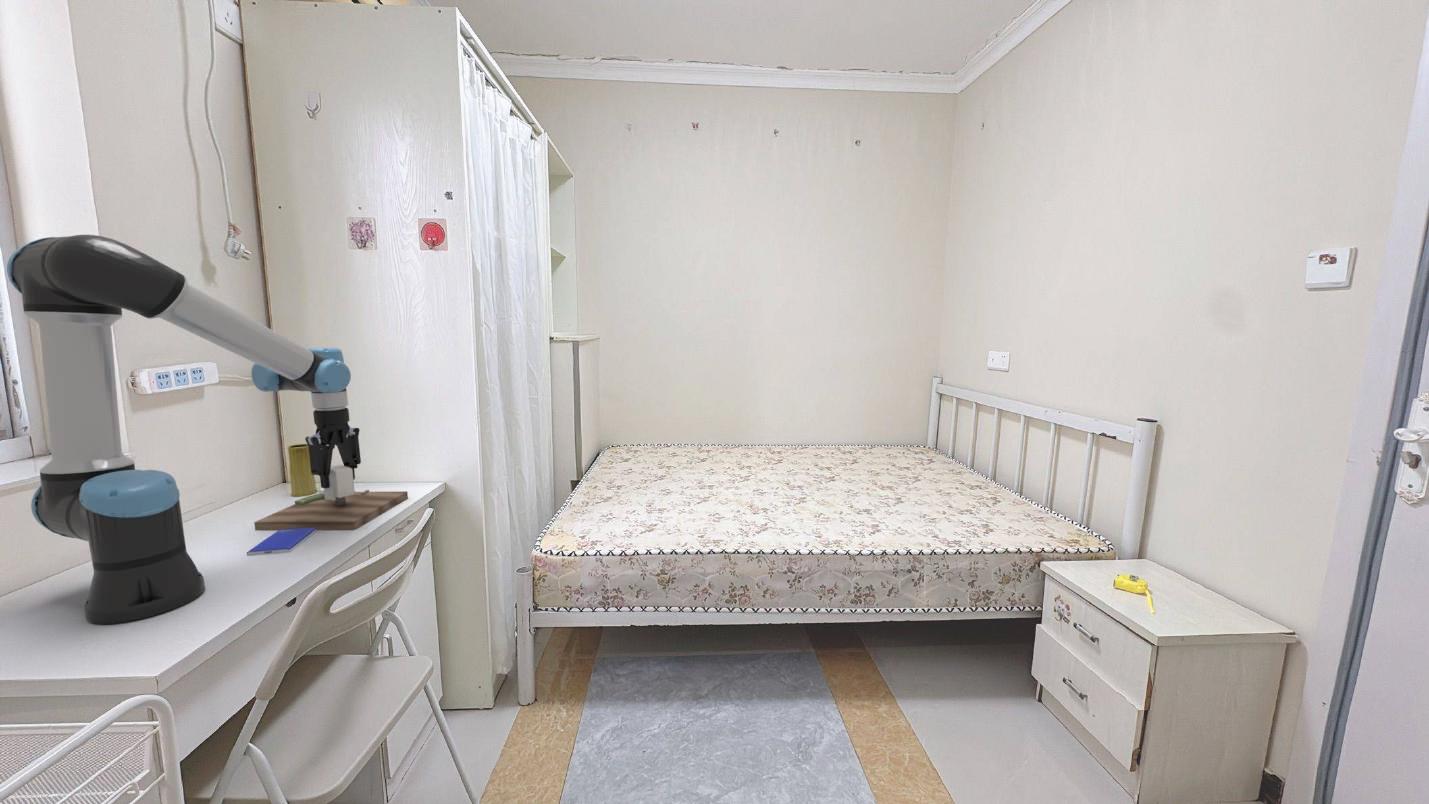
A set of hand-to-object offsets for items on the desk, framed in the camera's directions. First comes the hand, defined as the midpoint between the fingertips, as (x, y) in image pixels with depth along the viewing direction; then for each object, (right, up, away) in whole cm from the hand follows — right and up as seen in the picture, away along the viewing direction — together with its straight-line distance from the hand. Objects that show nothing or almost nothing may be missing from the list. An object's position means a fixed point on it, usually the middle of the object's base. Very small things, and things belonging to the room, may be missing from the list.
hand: (340, 495), depth 147 cm
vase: (-22, -2, +18) cm, 28 cm away
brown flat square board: (-1, -5, +1) cm, 5 cm away
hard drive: (0, -8, -19) cm, 21 cm away
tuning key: (-3, -2, +3) cm, 5 cm away
